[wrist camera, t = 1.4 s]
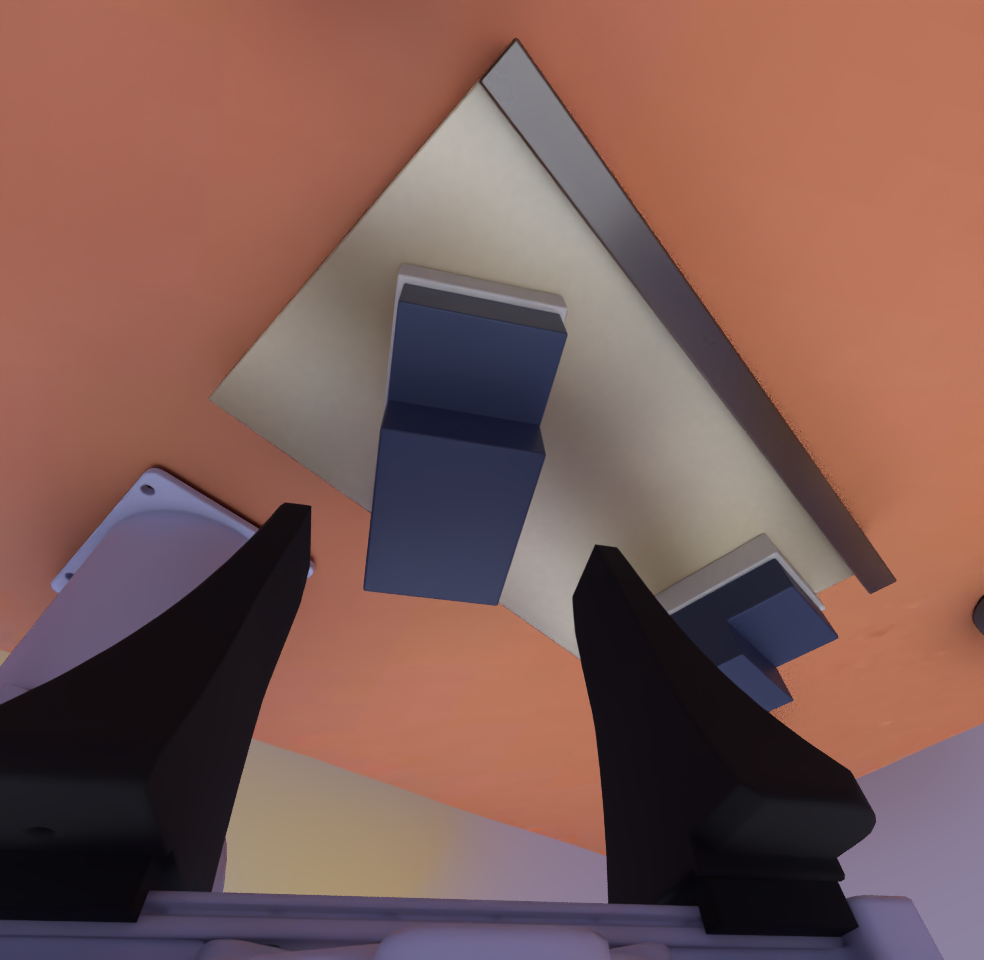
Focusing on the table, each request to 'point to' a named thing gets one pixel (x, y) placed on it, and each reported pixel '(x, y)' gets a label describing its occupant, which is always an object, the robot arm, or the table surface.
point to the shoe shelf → (582, 368)
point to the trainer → (460, 433)
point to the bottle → (979, 616)
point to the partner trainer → (750, 617)
